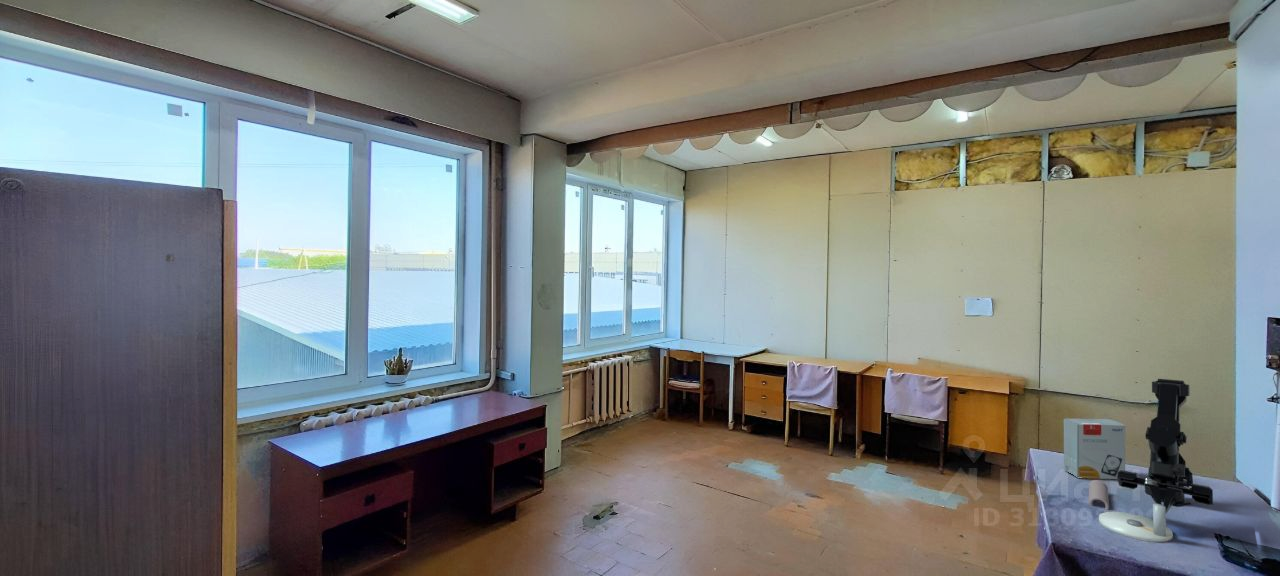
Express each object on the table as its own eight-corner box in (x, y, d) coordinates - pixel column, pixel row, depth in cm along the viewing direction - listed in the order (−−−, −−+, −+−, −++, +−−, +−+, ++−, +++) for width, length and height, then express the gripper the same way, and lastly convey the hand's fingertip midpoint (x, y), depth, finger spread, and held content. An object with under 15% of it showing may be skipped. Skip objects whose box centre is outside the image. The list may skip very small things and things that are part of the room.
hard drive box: (1077, 479, 180) (1076, 424, 180) (1063, 470, 188) (1061, 417, 188) (1127, 480, 178) (1125, 424, 177) (1110, 471, 185) (1109, 418, 185)
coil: (1087, 478, 171) (1087, 497, 158) (1106, 480, 168) (1107, 499, 155) (1090, 492, 171) (1090, 512, 158) (1108, 494, 168) (1110, 514, 155)
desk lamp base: (1125, 512, 153) (1124, 482, 153) (1187, 537, 138) (1187, 504, 138) (1085, 519, 150) (1084, 488, 150) (1144, 545, 135) (1144, 511, 135)
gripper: (1117, 443, 150) (1113, 491, 143) (1212, 458, 136) (1212, 512, 129) (1121, 461, 156) (1117, 509, 149) (1212, 478, 142) (1213, 531, 135)
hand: (1162, 514), depth 140 cm, fingers closed
